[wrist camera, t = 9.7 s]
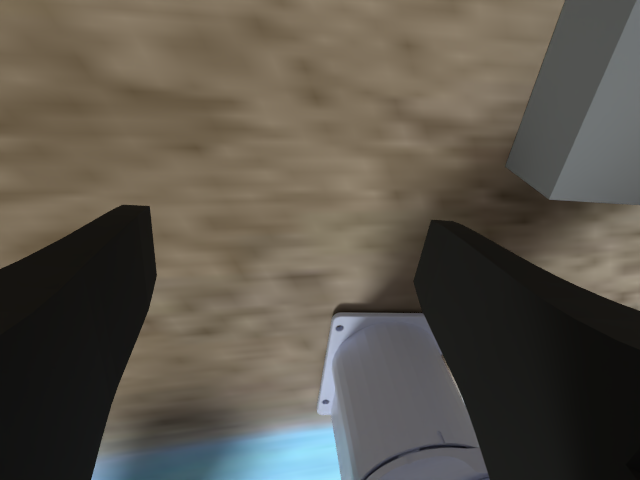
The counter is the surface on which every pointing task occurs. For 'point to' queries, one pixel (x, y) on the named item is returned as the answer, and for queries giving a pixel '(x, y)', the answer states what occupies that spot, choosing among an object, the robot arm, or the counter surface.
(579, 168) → the socket block
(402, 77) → the counter surface
